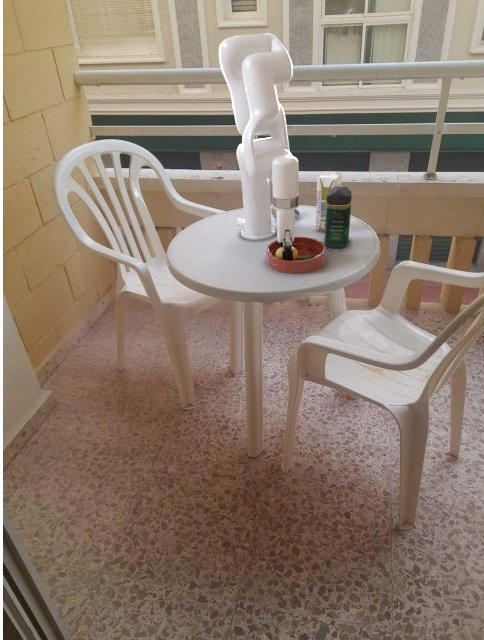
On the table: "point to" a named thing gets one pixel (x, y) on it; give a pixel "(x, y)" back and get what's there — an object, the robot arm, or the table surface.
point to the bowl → (303, 248)
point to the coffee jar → (337, 217)
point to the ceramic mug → (276, 210)
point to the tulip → (295, 254)
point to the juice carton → (323, 186)
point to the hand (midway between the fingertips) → (286, 255)
